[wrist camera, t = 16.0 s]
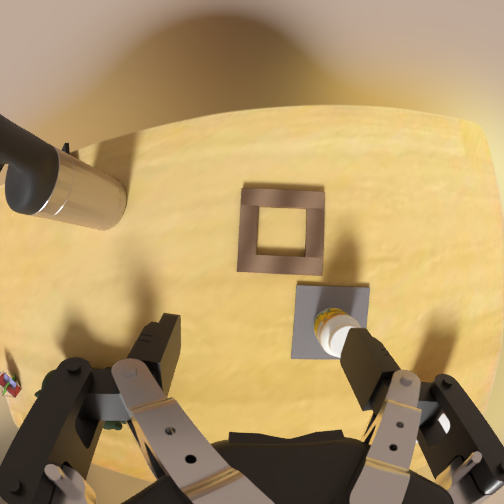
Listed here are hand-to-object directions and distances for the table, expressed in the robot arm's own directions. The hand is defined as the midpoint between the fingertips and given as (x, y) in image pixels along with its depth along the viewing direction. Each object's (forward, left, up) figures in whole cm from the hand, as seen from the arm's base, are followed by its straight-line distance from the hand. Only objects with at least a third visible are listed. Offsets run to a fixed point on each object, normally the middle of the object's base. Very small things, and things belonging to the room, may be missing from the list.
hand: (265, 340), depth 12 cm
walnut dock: (+1, +8, -27) cm, 28 cm away
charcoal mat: (+9, -5, -27) cm, 29 cm away
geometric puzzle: (-63, -32, -27) cm, 76 cm away
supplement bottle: (+9, -5, -27) cm, 29 cm away
